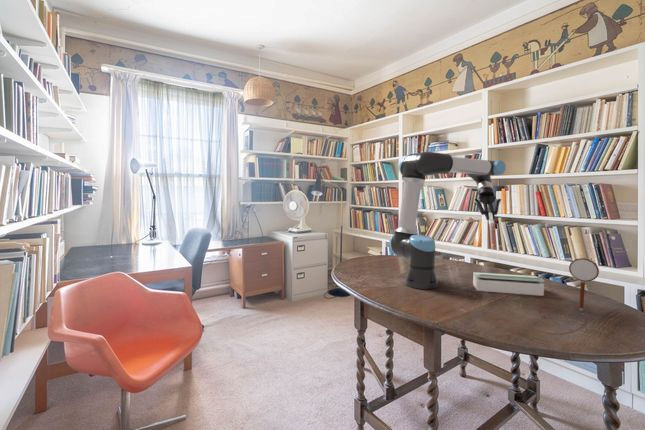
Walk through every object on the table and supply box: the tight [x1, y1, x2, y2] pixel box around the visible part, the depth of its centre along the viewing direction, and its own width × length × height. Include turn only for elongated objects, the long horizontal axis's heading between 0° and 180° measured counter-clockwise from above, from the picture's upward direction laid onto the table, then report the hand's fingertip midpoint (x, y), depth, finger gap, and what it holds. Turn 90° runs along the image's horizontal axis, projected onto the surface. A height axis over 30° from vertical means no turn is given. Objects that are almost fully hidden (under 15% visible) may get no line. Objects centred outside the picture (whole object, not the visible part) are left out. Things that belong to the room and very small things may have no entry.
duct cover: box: [472, 271, 545, 283], centre depth 141 cm, size 26×10×1 cm, turn 74°
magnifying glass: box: [568, 257, 600, 311], centre depth 116 cm, size 9×2×20 cm, turn 39°
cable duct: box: [472, 274, 545, 297], centre depth 142 cm, size 26×10×5 cm, turn 74°
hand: (491, 224), depth 158 cm, fingers closed
